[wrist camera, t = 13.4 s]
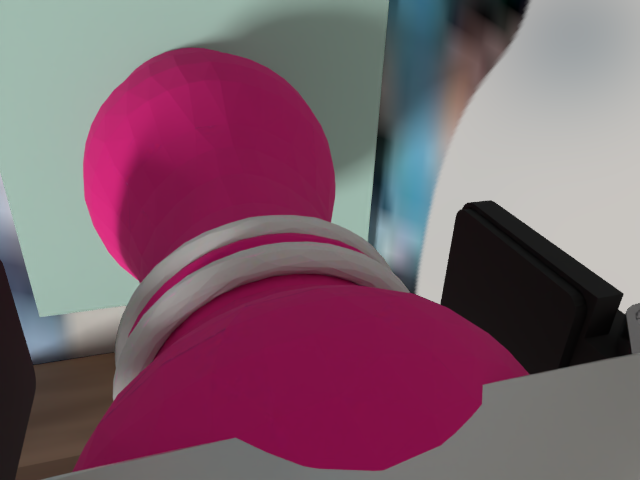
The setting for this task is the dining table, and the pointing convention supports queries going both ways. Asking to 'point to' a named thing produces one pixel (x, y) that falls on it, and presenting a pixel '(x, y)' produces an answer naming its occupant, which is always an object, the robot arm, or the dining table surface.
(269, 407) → the pepper mill
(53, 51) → the green mat
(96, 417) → the box
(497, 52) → the dining table surface
